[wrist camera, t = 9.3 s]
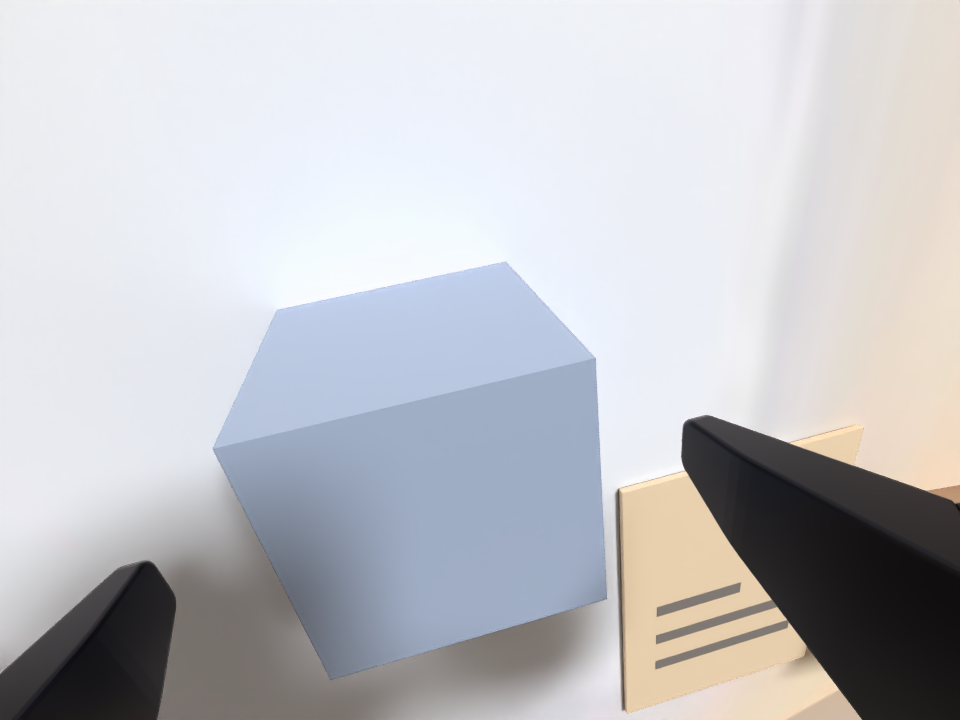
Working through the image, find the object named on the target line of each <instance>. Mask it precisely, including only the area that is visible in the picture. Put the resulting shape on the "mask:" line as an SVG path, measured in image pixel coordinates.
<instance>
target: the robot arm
mask: <svg viewBox="0 0 960 720" xmlns="http://www.w3.org/2000/svg"><path fill="white" fill-rule="evenodd" d="M681 458H682V463H683V466H684V469H685V471H686V472H687V474H688V476H689V477H690V479H691V481H692V482H693V484H694V486H695V487H696V489H697V491H698V492H699V494H700V496H701V497H702V499H703V501H704V502H705V504H706V506H707V507H708V509H709V511H710V512H711V514H712V516H713V517H714V519H715V521H716V522H717V524H718V525H719V527H720V529H721V530H722V532H723V534H724V535H725V537H726V538H727V540H728V541H729V543H730V544H731V546H732V547H733V549H734V550H735V551H736V553H737V554H738V556H739V557H740V558H741V560H742V561H743V562H744V564H745V565H746V566H747V568H748V569H749V570H750V572H751V573H752V574H753V576H754V577H755V578H756V580H757V581H758V582H759V584H760V585H761V586H762V588H763V589H764V590H765V592H766V593H767V594H768V595H769V597H770V598H771V599H772V601H773V602H774V603H775V605H776V606H777V607H778V609H779V610H780V611H781V613H782V614H783V615H784V617H785V618H786V619H787V621H788V622H789V623H790V625H791V626H792V627H793V629H794V630H795V631H796V633H797V634H798V635H799V637H800V638H801V639H802V641H803V642H804V643H805V645H806V646H807V647H808V649H809V650H810V651H811V653H812V654H813V655H814V657H815V658H816V659H817V661H818V662H819V663H820V665H821V666H822V667H823V668H824V670H825V671H826V672H827V674H828V675H829V676H830V678H831V679H832V680H833V682H834V683H835V684H836V686H837V687H838V688H839V690H840V691H841V692H842V694H843V695H844V696H845V698H846V699H847V700H848V702H849V703H850V704H851V706H852V707H853V708H854V710H855V711H856V712H857V713H858V715H859V716H860V717H861V719H862V720H960V503H954V502H953V501H952V500H950V499H948V498H945V497H942V496H939V495H936V494H933V493H931V492H928V491H925V490H922V489H919V488H916V487H913V486H911V485H908V484H905V483H902V482H899V481H896V480H893V479H890V478H888V477H885V476H882V475H879V474H876V473H873V472H870V471H867V470H865V469H862V468H859V467H856V466H853V465H850V464H847V463H845V462H842V461H839V460H836V459H833V458H830V457H827V456H824V455H822V454H819V453H816V452H813V451H810V450H807V449H804V448H802V447H799V446H796V445H793V444H790V443H787V442H784V441H781V440H779V439H776V438H773V437H770V436H767V435H764V434H761V433H758V432H756V431H753V430H750V429H747V428H744V427H741V426H738V425H736V424H733V423H730V422H727V421H724V420H721V419H718V418H715V417H713V416H709V415H704V416H700V417H696V418H692V419H688V420H687V421H685V423H684V425H683V432H682V452H681ZM175 612H176V598H175V595H174V593H173V591H172V589H171V588H170V586H169V585H168V583H167V582H166V580H165V579H164V577H163V576H162V574H161V573H160V571H159V570H158V568H157V567H156V566H155V564H154V563H152V562H151V561H140V562H136V563H132V564H128V565H125V566H122V567H120V568H118V569H116V570H115V571H114V572H113V573H112V574H111V575H110V576H108V577H107V578H106V579H105V580H104V581H103V582H102V583H101V584H100V585H98V586H97V587H96V588H95V589H94V590H93V591H92V592H91V593H90V594H88V595H87V596H86V597H85V598H84V599H83V600H82V601H81V602H80V603H78V604H77V605H76V606H75V607H74V608H73V609H72V610H71V611H70V612H68V613H67V614H66V615H65V616H64V617H63V618H62V619H61V620H60V621H58V622H57V623H56V624H55V625H54V626H53V627H52V628H51V629H50V630H48V631H47V632H46V633H45V634H44V635H43V636H42V637H41V638H40V639H38V640H37V641H36V642H35V643H34V644H33V645H32V646H31V647H30V648H28V649H27V650H26V651H25V652H24V653H23V654H22V655H21V656H20V657H18V658H17V659H16V660H15V661H14V662H13V663H12V664H11V665H10V666H8V667H7V668H6V669H5V670H4V671H3V672H2V673H1V674H0V720H157V717H158V712H159V708H160V703H161V698H162V692H163V686H164V680H165V674H166V668H167V662H168V655H169V649H170V643H171V637H172V631H173V625H174V618H175Z"/></svg>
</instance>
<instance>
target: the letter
mask: <svg viewBox="0 0 960 720" xmlns="http://www.w3.org/2000/svg"><path fill="white" fill-rule="evenodd" d="M863 429H864V428H863V427H862V426H860V425H859V424H858V425H854V426H850V427H846V428H843V429H839V430H835V431H832V432H828V433H824V434H820V435H817V436H813V437H809V438H806V439H802V440H798V441H795V442H791V443H790V444H793V445H796V446H799V447H802V448H804V449H807V450H810V451H813V452H816V453H819V454H822V455H824V456H827V457H830V458H833V459H836V460H839V461H842V462H845V463H847V464H850V465H853V466H854V464H855V460H856V456H857V452H858V448H859V445H860V441H861V437H862V433H863ZM619 499H620V538H621V577H622V617H623V656H624V695H625V710H626V713H627V714H628V713H631V712H635V711H638V710H641V709H644V708H647V707H650V706H653V705H656V704H659V703H662V702H665V701H669V700H672V699H675V698H678V697H681V696H684V695H687V694H690V693H693V692H696V691H700V690H703V689H706V688H709V687H712V686H715V685H718V684H721V683H724V682H727V681H730V680H734V679H737V678H740V677H743V676H746V675H749V674H752V673H755V672H758V671H761V670H765V669H768V668H771V667H774V666H777V665H780V664H783V663H786V662H789V661H792V660H796V659H799V658H802V657H804V655H805V651H806V647H807V646H806V645H805V643H804V642H803V641H802V639H801V638H800V637H799V635H798V634H797V633H796V631H795V630H794V629H793V627H792V626H791V625H790V623H789V622H788V621H787V619H786V618H785V617H784V615H783V614H782V613H781V611H780V610H779V609H778V607H777V606H776V605H775V603H774V602H773V601H772V599H771V598H770V597H769V595H768V594H767V593H766V592H765V590H764V589H763V588H762V586H761V585H760V584H759V582H758V581H757V580H756V578H755V577H754V576H753V574H752V573H751V572H750V570H749V569H748V568H747V566H746V565H745V564H744V562H743V561H742V560H741V558H740V557H739V556H738V554H737V553H736V551H735V550H734V549H733V547H732V546H731V544H730V543H729V541H728V540H727V538H726V537H725V535H724V534H723V532H722V530H721V529H720V527H719V525H718V524H717V522H716V521H715V519H714V517H713V516H712V514H711V512H710V511H709V509H708V507H707V506H706V504H705V502H704V501H703V499H702V497H701V496H700V494H699V492H698V491H697V489H696V487H695V486H694V484H693V482H692V481H691V479H690V477H689V476H688V474H687V472H686V471H683V472H680V473H676V474H672V475H669V476H665V477H661V478H657V479H654V480H650V481H646V482H643V483H639V484H635V485H632V486H628V487H624V488H620V489H619Z"/></svg>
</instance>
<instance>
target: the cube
mask: <svg viewBox="0 0 960 720" xmlns="http://www.w3.org/2000/svg"><path fill="white" fill-rule="evenodd" d="M213 451H214V453H215V455H216V457H217V459H218V460H219V462H220V464H221V466H222V468H223V470H224V472H225V474H226V476H227V478H228V480H229V482H230V484H231V486H232V488H233V490H234V492H235V494H236V496H237V498H238V500H239V502H240V504H241V506H242V507H243V509H244V511H245V513H246V515H247V517H248V519H249V521H250V523H251V525H252V527H253V529H254V531H255V533H256V535H257V537H258V539H259V541H260V543H261V545H262V547H263V549H264V551H265V552H266V554H267V556H268V558H269V560H270V562H271V564H272V566H273V568H274V570H275V572H276V574H277V576H278V578H279V580H280V582H281V584H282V586H283V588H284V590H285V592H286V594H287V596H288V598H289V599H290V601H291V603H292V605H293V607H294V609H295V611H296V613H297V615H298V617H299V619H300V621H301V623H302V625H303V627H304V629H305V631H306V633H307V635H308V637H309V639H310V641H311V643H312V645H313V646H314V648H315V650H316V652H317V654H318V656H319V658H320V660H321V662H322V664H323V666H324V668H325V670H326V672H327V674H328V676H329V678H330V680H332V679H336V678H339V677H343V676H346V675H349V674H353V673H356V672H360V671H363V670H366V669H370V668H373V667H377V666H380V665H383V664H387V663H390V662H394V661H397V660H401V659H404V658H407V657H411V656H414V655H418V654H421V653H424V652H428V651H431V650H435V649H438V648H442V647H445V646H448V645H452V644H455V643H459V642H462V641H465V640H469V639H472V638H476V637H479V636H482V635H486V634H489V633H493V632H496V631H500V630H503V629H506V628H510V627H513V626H517V625H520V624H523V623H527V622H530V621H534V620H537V619H541V618H544V617H547V616H551V615H554V614H558V613H561V612H564V611H568V610H571V609H575V608H578V607H581V606H585V605H588V604H592V603H595V602H599V601H602V600H605V599H607V591H606V570H605V548H604V527H603V506H602V485H601V464H600V443H599V421H598V400H597V379H596V358H595V357H594V356H593V355H592V354H591V353H590V352H589V351H588V349H587V348H586V347H585V346H584V345H583V344H582V343H581V342H580V341H579V340H578V339H577V338H576V337H575V335H574V334H573V333H572V332H571V331H570V330H569V329H568V328H567V327H566V326H565V325H564V324H563V323H562V321H561V320H560V319H559V318H558V317H557V316H556V315H555V314H554V313H553V312H552V311H551V310H550V309H549V307H548V306H547V305H546V304H545V303H544V302H543V301H542V300H541V299H540V298H539V297H538V296H537V295H536V293H535V292H534V291H533V290H532V289H531V288H530V287H529V286H528V285H527V284H526V283H525V282H524V281H523V279H522V278H521V277H520V276H519V275H518V274H517V273H516V272H515V271H514V270H513V269H512V268H511V267H510V265H509V264H508V263H507V262H502V263H497V264H492V265H488V266H483V267H478V268H473V269H469V270H464V271H459V272H455V273H450V274H445V275H440V276H436V277H431V278H426V279H421V280H417V281H412V282H407V283H403V284H398V285H393V286H388V287H384V288H379V289H374V290H369V291H365V292H360V293H355V294H350V295H346V296H341V297H336V298H332V299H327V300H322V301H317V302H313V303H308V304H303V305H298V306H294V307H289V308H284V309H279V310H277V311H276V313H275V315H274V318H273V320H272V322H271V324H270V326H269V328H268V331H267V333H266V335H265V337H264V339H263V341H262V343H261V346H260V348H259V350H258V352H257V354H256V356H255V359H254V361H253V363H252V365H251V367H250V369H249V371H248V374H247V376H246V378H245V380H244V382H243V384H242V387H241V389H240V391H239V393H238V395H237V397H236V399H235V402H234V404H233V406H232V408H231V410H230V412H229V415H228V417H227V419H226V421H225V423H224V425H223V427H222V430H221V432H220V434H219V436H218V438H217V440H216V443H215V445H214V447H213Z"/></svg>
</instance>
